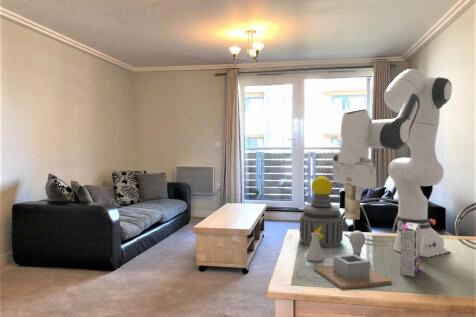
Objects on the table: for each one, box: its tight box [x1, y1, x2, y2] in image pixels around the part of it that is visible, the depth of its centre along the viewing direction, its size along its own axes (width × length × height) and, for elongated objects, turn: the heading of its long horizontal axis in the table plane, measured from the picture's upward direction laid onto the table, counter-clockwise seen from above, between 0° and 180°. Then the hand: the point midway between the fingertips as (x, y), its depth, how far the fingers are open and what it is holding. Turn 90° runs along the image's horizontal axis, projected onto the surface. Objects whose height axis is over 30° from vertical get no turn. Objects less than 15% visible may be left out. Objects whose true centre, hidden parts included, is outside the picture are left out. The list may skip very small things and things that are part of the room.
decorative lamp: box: [299, 175, 344, 249], centre depth 168 cm, size 19×19×30 cm
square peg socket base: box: [313, 253, 392, 290], centre depth 126 cm, size 18×18×6 cm
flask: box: [305, 233, 325, 262], centre depth 144 cm, size 7×7×10 cm
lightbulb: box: [348, 230, 367, 257], centre depth 145 cm, size 6×6×11 cm
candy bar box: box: [400, 222, 420, 278], centre depth 131 cm, size 11×5×16 cm, turn 148°
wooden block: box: [344, 177, 361, 221], centre depth 125 cm, size 4×4×14 cm
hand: (352, 198), depth 125 cm, fingers closed on wooden block, 3 cm apart
